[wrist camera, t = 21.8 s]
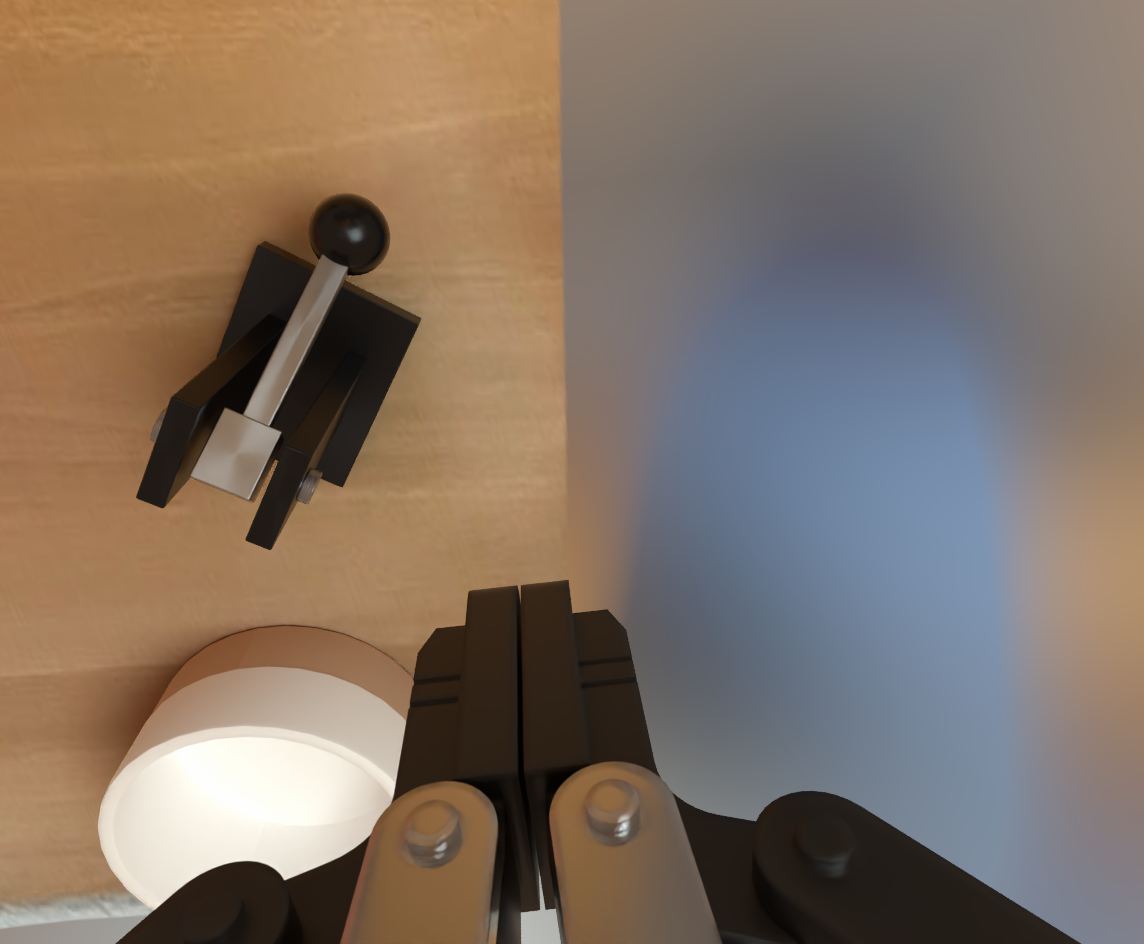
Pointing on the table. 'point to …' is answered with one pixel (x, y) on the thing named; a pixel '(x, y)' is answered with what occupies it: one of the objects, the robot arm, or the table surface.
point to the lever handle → (293, 346)
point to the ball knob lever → (315, 403)
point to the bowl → (258, 760)
